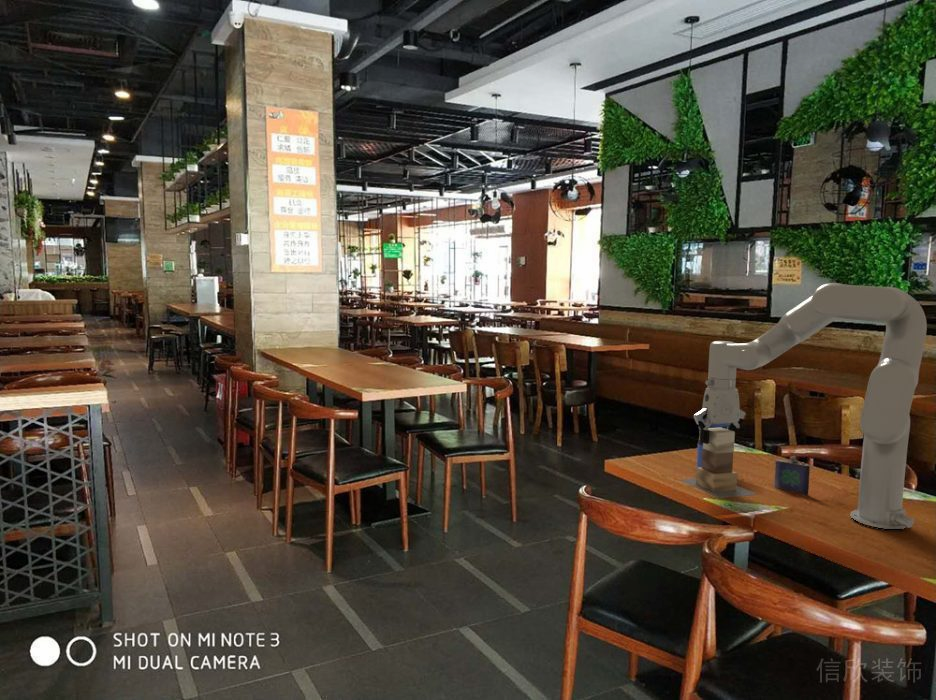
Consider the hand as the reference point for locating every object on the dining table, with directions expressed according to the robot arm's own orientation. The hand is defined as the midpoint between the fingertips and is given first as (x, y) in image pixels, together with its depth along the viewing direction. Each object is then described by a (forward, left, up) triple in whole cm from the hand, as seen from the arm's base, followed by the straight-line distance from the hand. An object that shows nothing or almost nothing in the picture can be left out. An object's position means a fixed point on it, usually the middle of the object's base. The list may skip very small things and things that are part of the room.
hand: (718, 441), depth 194 cm
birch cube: (0, 0, -2) cm, 3 cm away
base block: (0, 0, -14) cm, 14 cm away
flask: (-8, -20, -15) cm, 26 cm away
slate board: (0, 0, -14) cm, 14 cm away
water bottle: (+16, -11, -14) cm, 24 cm away
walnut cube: (0, 0, -8) cm, 8 cm away
